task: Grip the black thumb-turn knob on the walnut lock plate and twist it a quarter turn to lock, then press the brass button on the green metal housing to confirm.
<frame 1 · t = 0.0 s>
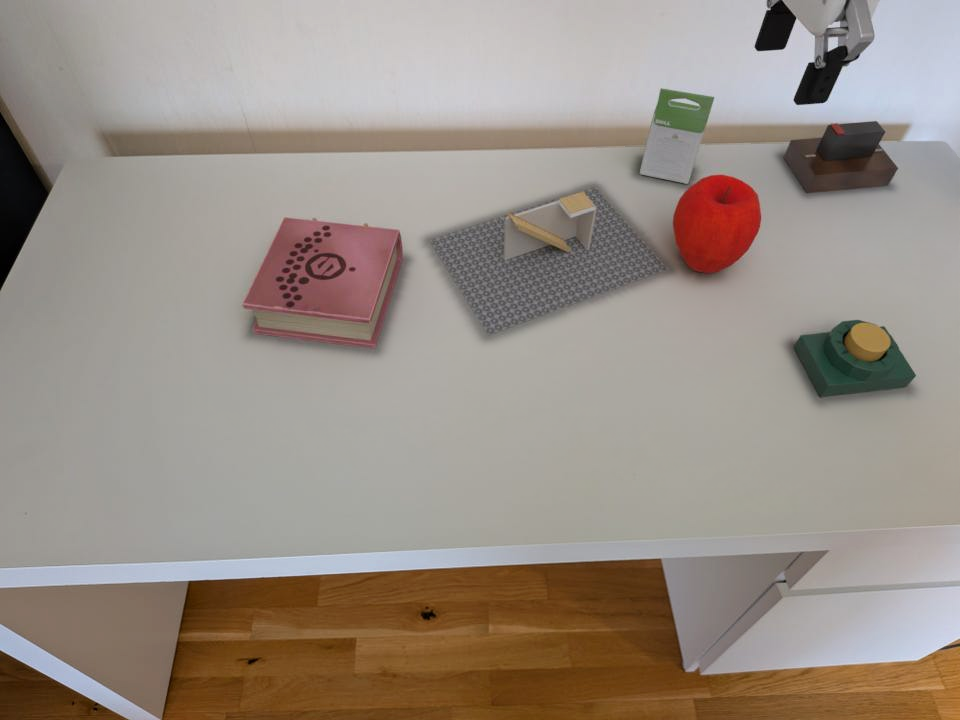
hand: (788, 74, 68), 24 cm above the table, tool pointing down, fingers open, 9 cm apart
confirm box: (848, 366, 76), on the table
model: (546, 255, 86), on the table
confirm button: (866, 341, 72), point 4 cm above the table, slide at 0.1 cm
lock plate: (834, 171, 97), on the table
book: (332, 293, 82), on the table
ink box: (665, 173, 97), on the table
apple: (700, 263, 86), on the table
lock knob: (850, 140, 93), point 5 cm above the table, hinge at 0.0°
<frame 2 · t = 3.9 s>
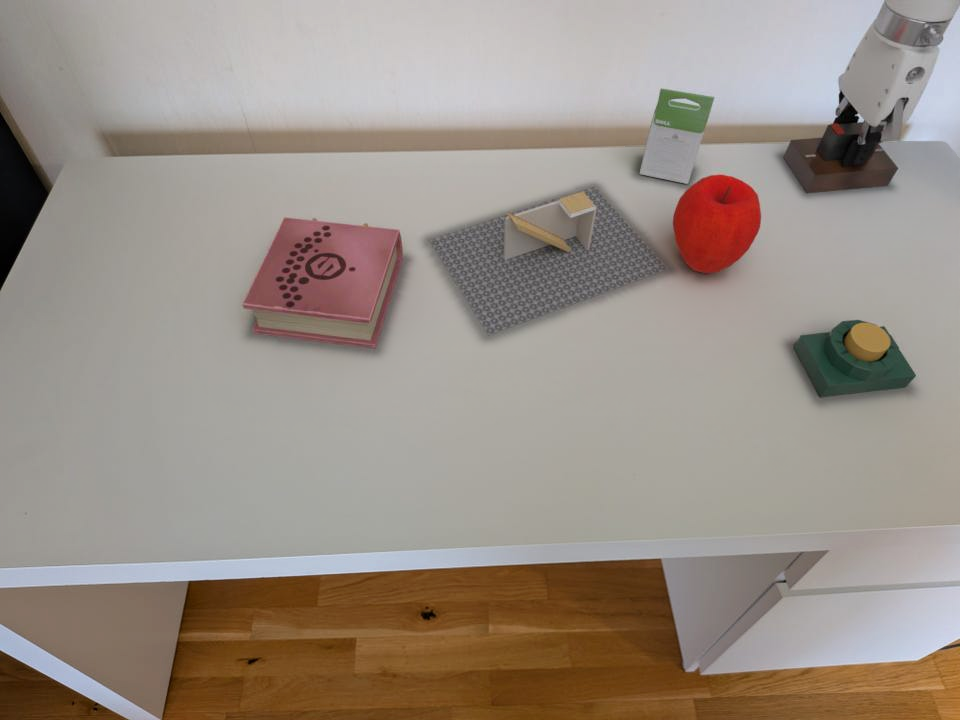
hand: (844, 152, 94), 3 cm above the table, tool pointing down, fingers open, 4 cm apart
nothing on the table moved.
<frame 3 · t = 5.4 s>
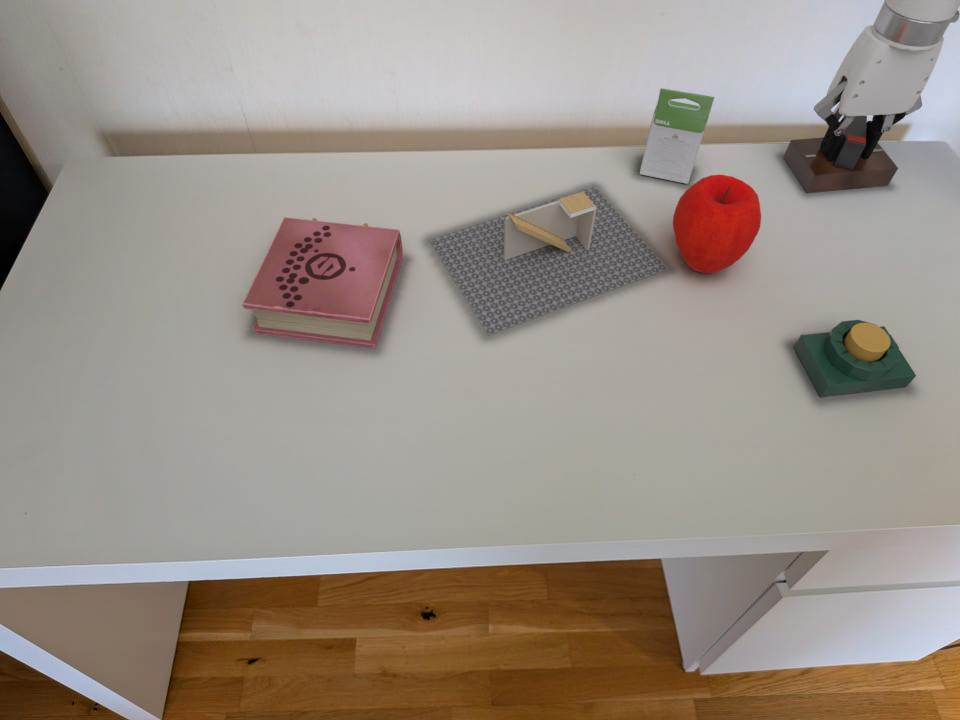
hand: (844, 152, 94), 3 cm above the table, tool pointing down, fingers closed on lock knob, 4 cm apart
lock knob: (850, 140, 93), point 5 cm above the table, hinge at 62.0°, touching gripper
everything else where it was.
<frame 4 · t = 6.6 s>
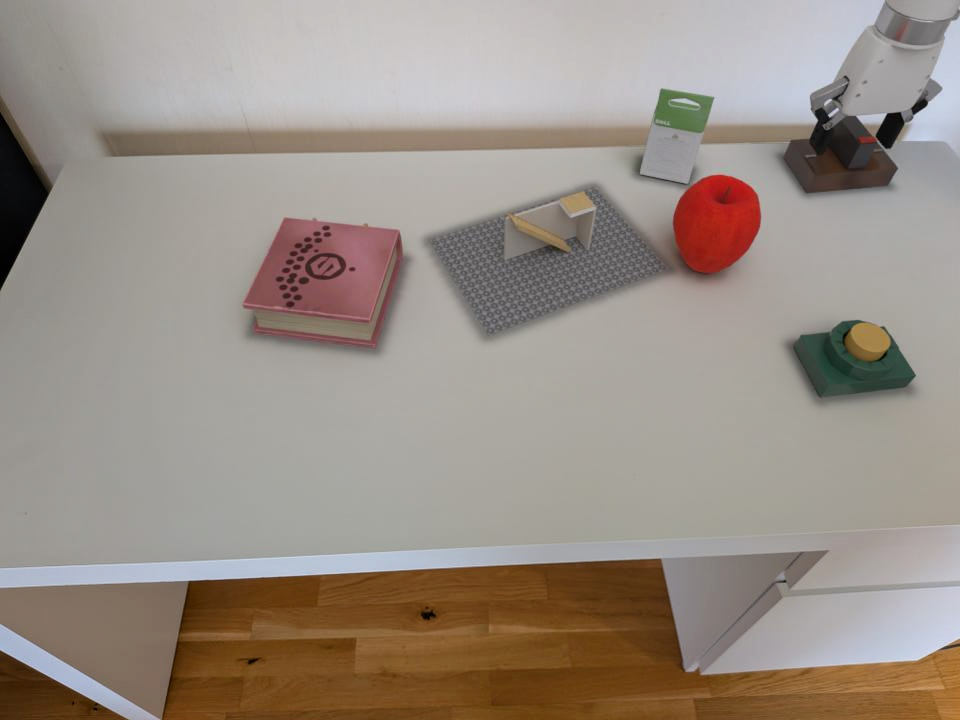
hand: (849, 146, 93), 4 cm above the table, tool pointing down, fingers open, 9 cm apart
lock knob: (850, 140, 93), point 5 cm above the table, hinge at 89.9°
everything else where it was.
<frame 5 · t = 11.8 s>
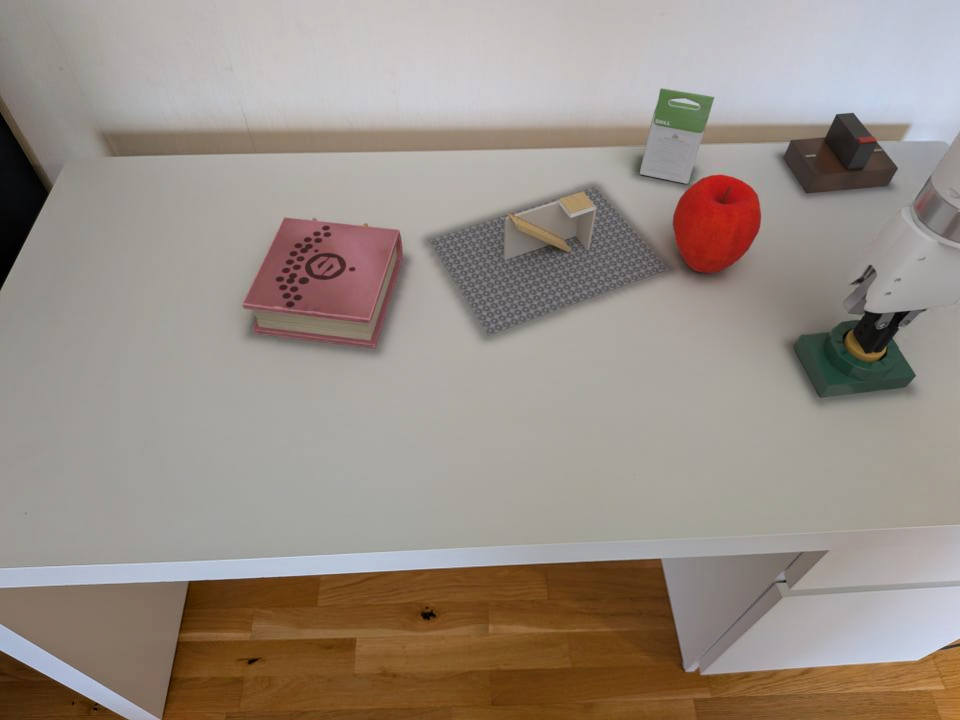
hand: (866, 342, 72), 4 cm above the table, tool pointing down, fingers closed
confirm button: (863, 347, 73), point 4 cm above the table, slide at -0.8 cm, touching gripper
everything else where it was.
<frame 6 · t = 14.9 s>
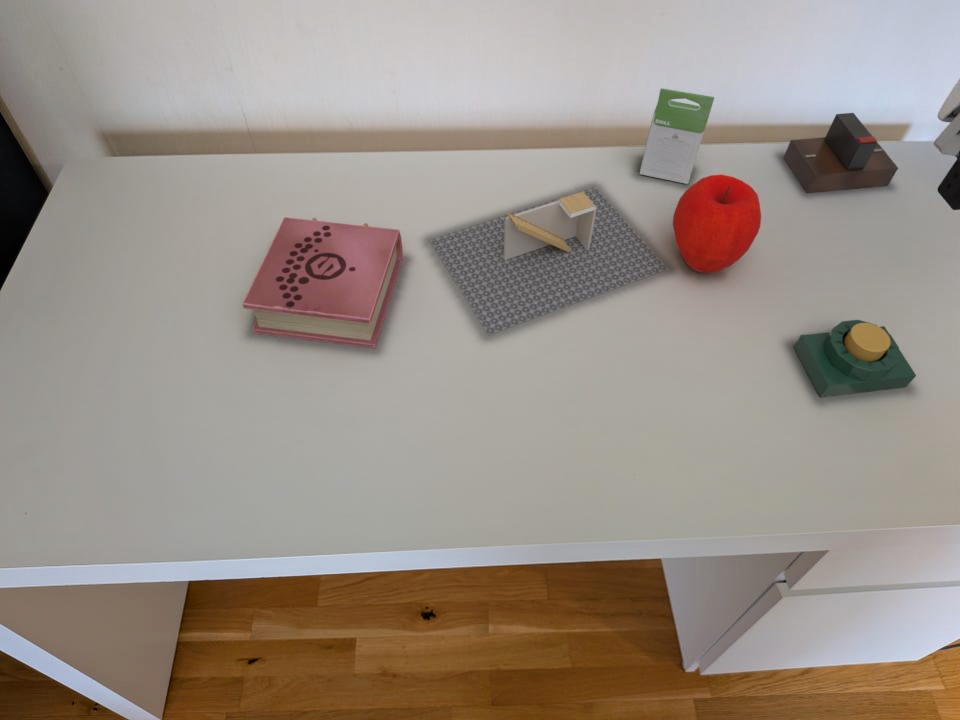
hand: (953, 199, 64), 19 cm above the table, tool pointing down, fingers closed
confirm button: (866, 341, 72), point 4 cm above the table, slide at 0.1 cm
everything else where it was.
at the end: lock knob at +90° (first picture: +0°); confirm button pushed in 1.1 cm at the most during the clip, back to where it started at the end; confirm button slide at 0.1 cm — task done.
